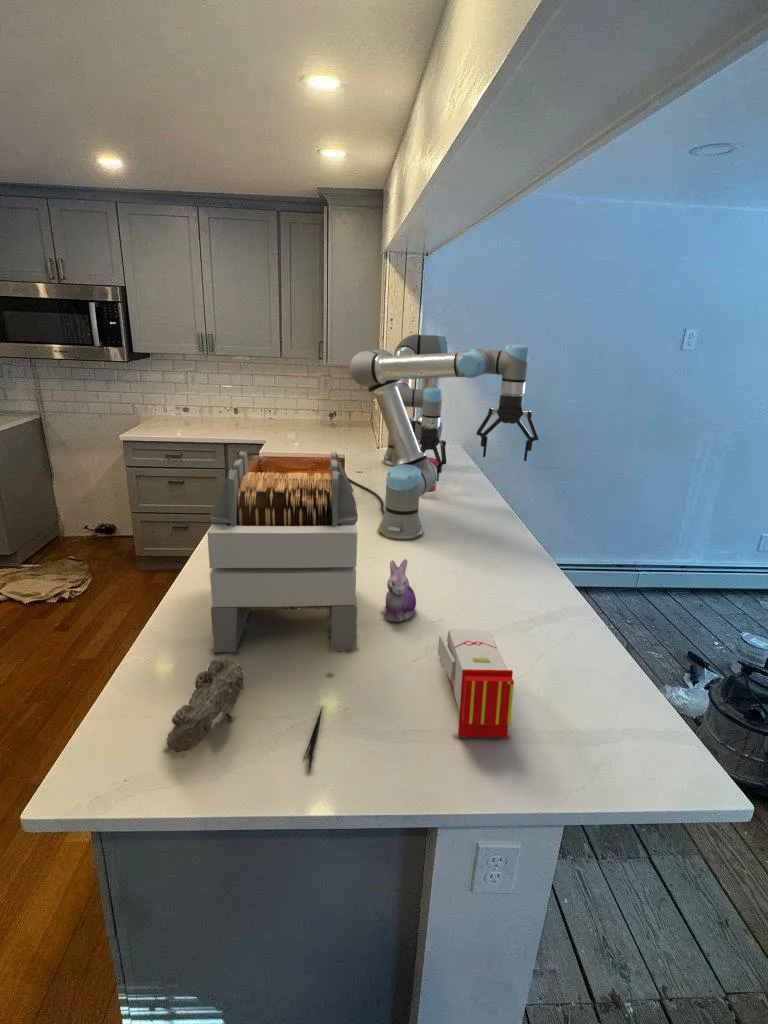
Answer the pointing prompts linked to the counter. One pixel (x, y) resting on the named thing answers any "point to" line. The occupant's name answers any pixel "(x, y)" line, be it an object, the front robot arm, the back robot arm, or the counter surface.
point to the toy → (478, 682)
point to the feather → (313, 740)
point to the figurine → (399, 594)
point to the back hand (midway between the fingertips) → (426, 480)
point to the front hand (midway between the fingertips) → (504, 458)
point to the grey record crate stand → (283, 549)
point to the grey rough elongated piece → (206, 705)
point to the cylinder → (435, 463)
